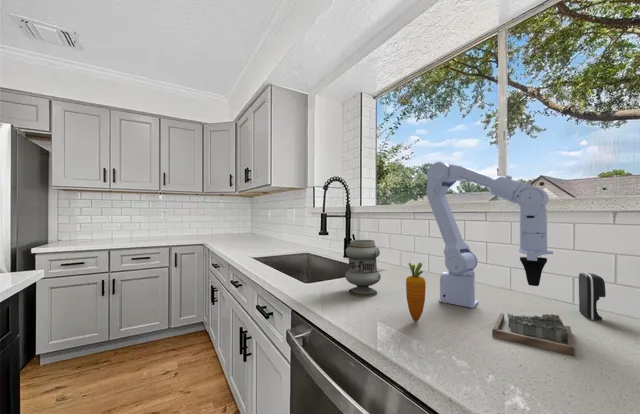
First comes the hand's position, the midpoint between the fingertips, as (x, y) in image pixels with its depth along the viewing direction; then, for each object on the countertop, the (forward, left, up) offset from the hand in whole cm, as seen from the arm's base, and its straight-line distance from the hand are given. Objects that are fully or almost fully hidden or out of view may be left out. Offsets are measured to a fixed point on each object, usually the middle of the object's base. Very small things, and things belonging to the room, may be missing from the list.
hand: (533, 285), depth 74 cm
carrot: (-23, -22, -9) cm, 33 cm away
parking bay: (0, -12, -9) cm, 15 cm away
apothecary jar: (-47, -7, -9) cm, 48 cm away
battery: (+12, +12, -9) cm, 19 cm away
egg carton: (+1, -10, -9) cm, 14 cm away
